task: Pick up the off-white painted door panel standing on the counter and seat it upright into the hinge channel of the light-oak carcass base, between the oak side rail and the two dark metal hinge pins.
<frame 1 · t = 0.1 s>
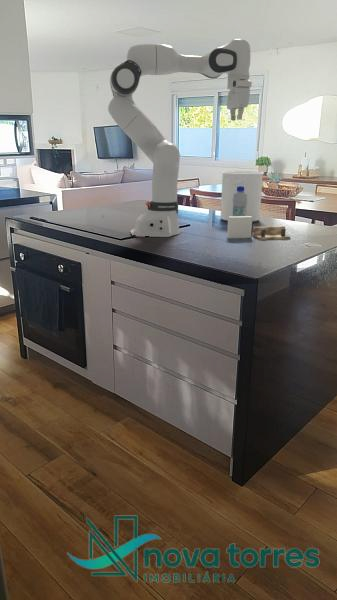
hand: (236, 120, 190), 48 cm above the table, fingers open, 8 cm apart
carcass: (270, 237, 195), on the table
door panel: (238, 237, 194), on the table
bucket: (239, 220, 235), on the table
bottle: (238, 229, 212), on the table
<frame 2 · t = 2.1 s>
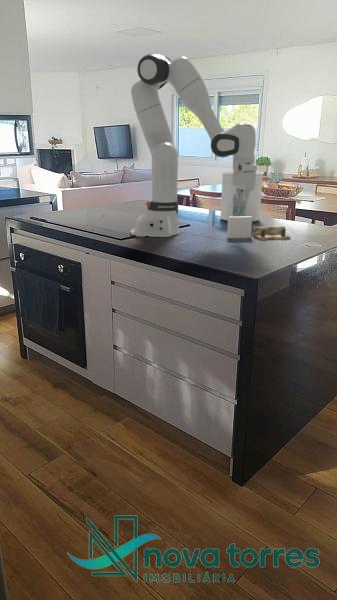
hand: (242, 199, 189), 16 cm above the table, fingers open, 8 cm apart
nothing on the table moved.
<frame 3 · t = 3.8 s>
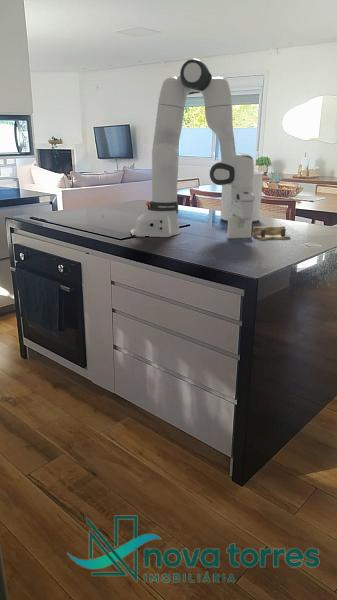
hand: (239, 226, 193), 5 cm above the table, fingers closed on door panel, 2 cm apart
door panel: (238, 237, 194), on the table, touching gripper
everything else where it was.
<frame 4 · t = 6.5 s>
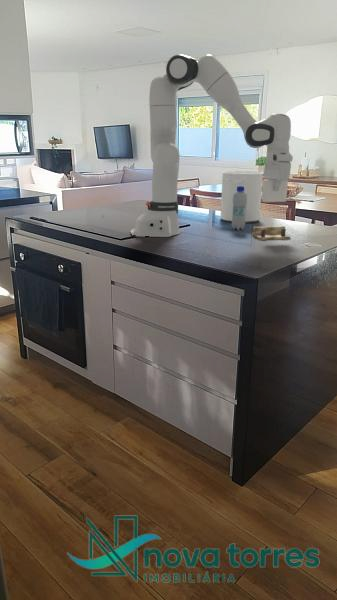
hand: (274, 190, 189), 20 cm above the table, fingers closed on door panel, 2 cm apart
door panel: (273, 201, 190), point 15 cm above the table, touching gripper
everything else where it was.
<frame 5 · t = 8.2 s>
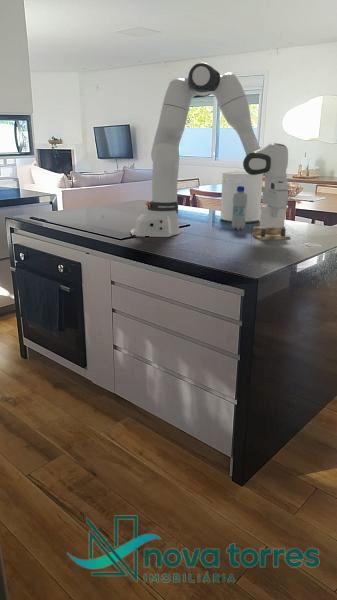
hand: (272, 216, 192), 9 cm above the table, fingers closed on door panel, 2 cm apart
door panel: (271, 227, 194), point 4 cm above the table, touching gripper
everything else where it was.
when the fingers open (6 cm above the table, at t = 9.4 s): door panel stays where it is, resting on carcass.
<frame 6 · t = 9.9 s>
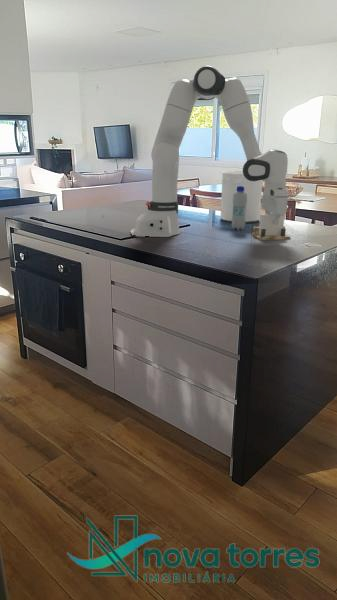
hand: (271, 222, 193), 6 cm above the table, fingers open, 7 cm apart
door panel: (270, 234, 195), point 1 cm above the table, touching carcass
everything else where it was.
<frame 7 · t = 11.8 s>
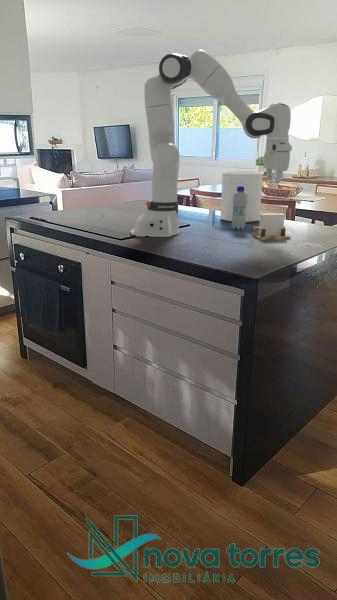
hand: (273, 180, 188), 24 cm above the table, fingers open, 8 cm apart
nothing on the table moved.
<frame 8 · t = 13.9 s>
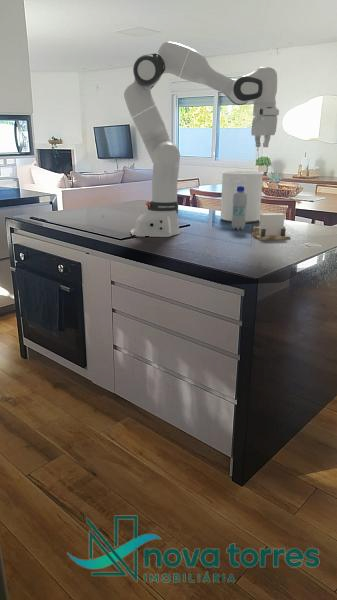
hand: (261, 147, 188), 37 cm above the table, fingers open, 8 cm apart
nothing on the table moved.
at the end: door panel 0.0 cm off-centre on the carcass, point 1.0 cm above the carcass's base; door panel tilted 0°; the gripper is holding nothing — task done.
